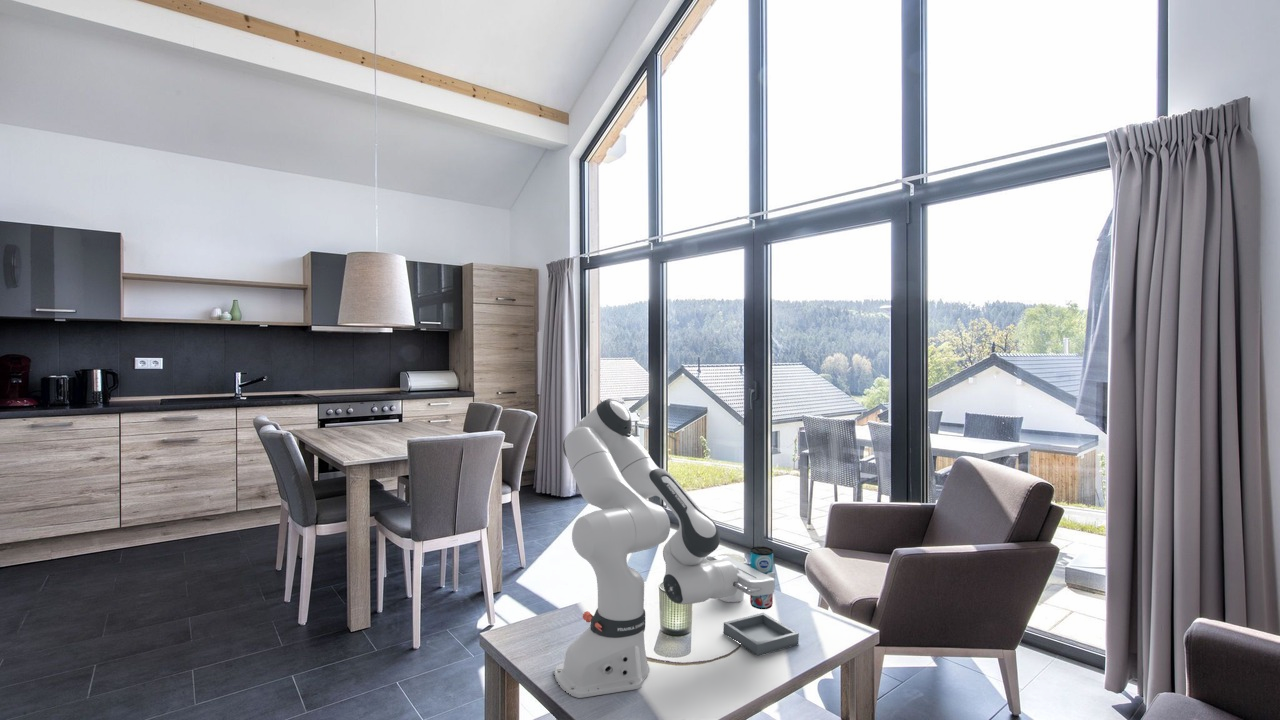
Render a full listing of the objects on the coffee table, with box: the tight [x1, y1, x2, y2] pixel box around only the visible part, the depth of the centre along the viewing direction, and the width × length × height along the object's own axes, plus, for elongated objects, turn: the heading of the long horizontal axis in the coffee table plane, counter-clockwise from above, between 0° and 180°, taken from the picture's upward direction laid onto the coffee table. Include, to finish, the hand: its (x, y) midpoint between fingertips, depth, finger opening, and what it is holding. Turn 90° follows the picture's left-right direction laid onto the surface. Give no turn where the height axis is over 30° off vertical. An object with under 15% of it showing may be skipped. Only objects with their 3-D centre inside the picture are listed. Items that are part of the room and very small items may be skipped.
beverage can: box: [749, 546, 774, 610], centre depth 163 cm, size 6×6×15 cm
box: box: [722, 612, 800, 657], centre depth 163 cm, size 14×14×3 cm
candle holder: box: [717, 553, 748, 603], centre depth 191 cm, size 10×10×12 cm
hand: (764, 570), depth 164 cm, fingers closed on beverage can, 6 cm apart
